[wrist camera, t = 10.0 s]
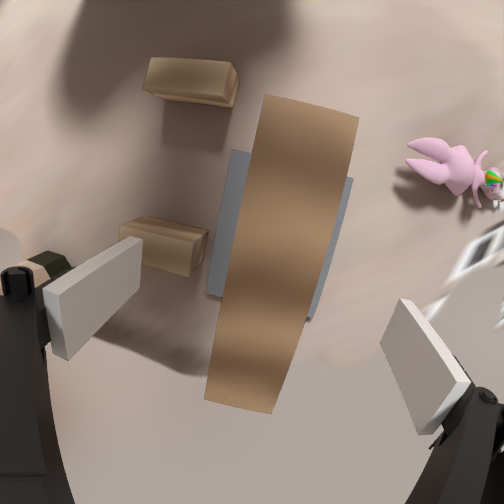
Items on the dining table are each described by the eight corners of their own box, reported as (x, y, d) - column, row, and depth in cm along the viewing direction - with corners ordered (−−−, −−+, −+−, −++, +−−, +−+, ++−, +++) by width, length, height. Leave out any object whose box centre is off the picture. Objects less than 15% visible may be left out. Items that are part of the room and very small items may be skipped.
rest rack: (171, 72, 25) (151, 57, 20) (239, 79, 25) (230, 62, 20) (140, 243, 30) (117, 257, 25) (203, 259, 30) (188, 276, 25)
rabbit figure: (496, 160, 24) (400, 120, 23) (532, 165, 19) (438, 114, 17) (489, 211, 26) (392, 184, 25) (524, 223, 21) (429, 193, 19)
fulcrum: (234, 150, 27) (216, 144, 19) (350, 178, 26) (375, 182, 19) (208, 288, 31) (185, 325, 23) (312, 312, 30) (319, 356, 23)
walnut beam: (269, 110, 18) (265, 94, 14) (342, 128, 18) (359, 117, 14) (216, 363, 24) (203, 399, 20) (273, 377, 24) (271, 414, 19)
